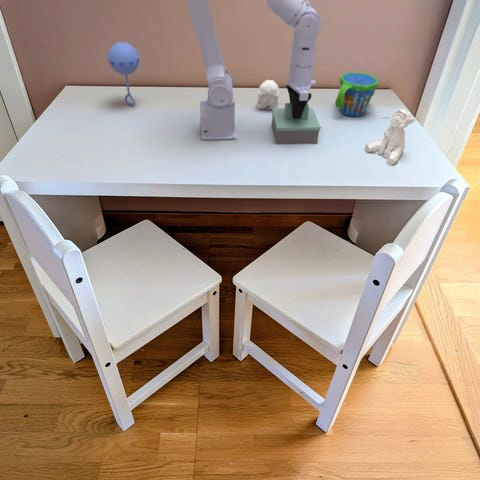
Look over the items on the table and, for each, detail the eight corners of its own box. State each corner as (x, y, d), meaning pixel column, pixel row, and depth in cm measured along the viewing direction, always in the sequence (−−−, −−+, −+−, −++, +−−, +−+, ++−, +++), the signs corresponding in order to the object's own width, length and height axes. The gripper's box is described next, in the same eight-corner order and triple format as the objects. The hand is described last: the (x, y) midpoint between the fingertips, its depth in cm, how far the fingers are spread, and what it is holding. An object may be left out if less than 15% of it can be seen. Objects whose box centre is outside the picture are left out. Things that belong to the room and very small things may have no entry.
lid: (276, 132, 105) (278, 115, 102) (271, 113, 114) (272, 96, 110) (319, 132, 106) (322, 114, 103) (311, 112, 114) (314, 95, 111)
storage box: (276, 144, 108) (277, 130, 105) (271, 124, 116) (272, 111, 113) (317, 143, 108) (319, 129, 106) (309, 124, 117) (311, 111, 114)
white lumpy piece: (258, 82, 116) (260, 71, 126) (256, 112, 121) (259, 99, 131) (280, 84, 116) (281, 72, 125) (277, 113, 121) (278, 100, 130)
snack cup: (357, 100, 129) (365, 67, 122) (383, 112, 123) (392, 79, 116) (321, 111, 123) (326, 77, 116) (345, 125, 116) (353, 90, 110)
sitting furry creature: (362, 150, 106) (373, 106, 98) (383, 141, 110) (396, 98, 102) (391, 166, 101) (405, 121, 93) (412, 156, 105) (428, 112, 96)
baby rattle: (152, 103, 125) (143, 41, 112) (132, 114, 119) (121, 50, 107) (131, 97, 128) (120, 36, 116) (111, 107, 123) (98, 44, 110)
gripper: (324, 74, 94) (315, 128, 103) (312, 53, 105) (305, 103, 114) (294, 74, 94) (288, 128, 103) (285, 53, 104) (280, 103, 114)
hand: (295, 115), depth 109 cm, fingers closed on lid, 2 cm apart
